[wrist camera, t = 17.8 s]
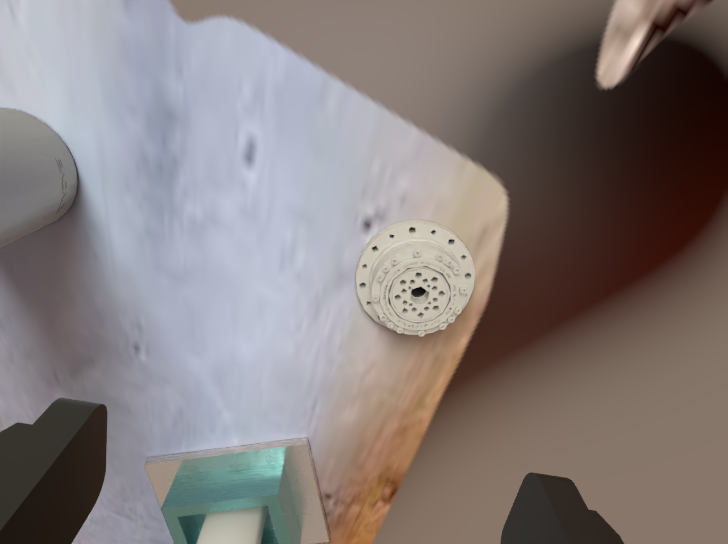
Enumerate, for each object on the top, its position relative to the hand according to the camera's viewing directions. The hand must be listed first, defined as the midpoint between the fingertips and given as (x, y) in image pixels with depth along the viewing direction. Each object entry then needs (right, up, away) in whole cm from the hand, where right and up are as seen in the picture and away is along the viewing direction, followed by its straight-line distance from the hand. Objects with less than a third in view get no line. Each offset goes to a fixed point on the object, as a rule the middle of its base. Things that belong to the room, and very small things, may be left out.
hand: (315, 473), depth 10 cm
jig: (-12, -19, +42) cm, 48 cm away
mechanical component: (+5, +4, +34) cm, 34 cm away
